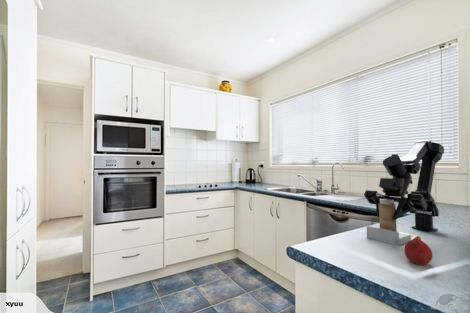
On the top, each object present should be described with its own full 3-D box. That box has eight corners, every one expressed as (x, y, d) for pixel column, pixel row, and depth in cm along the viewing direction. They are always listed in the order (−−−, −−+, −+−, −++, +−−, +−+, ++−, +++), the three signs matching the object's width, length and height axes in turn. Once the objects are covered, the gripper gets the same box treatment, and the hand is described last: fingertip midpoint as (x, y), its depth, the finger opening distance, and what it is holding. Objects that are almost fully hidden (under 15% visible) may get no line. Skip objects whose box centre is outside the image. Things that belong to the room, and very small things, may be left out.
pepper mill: (386, 230, 83) (384, 198, 84) (400, 234, 79) (398, 200, 79) (376, 232, 82) (375, 199, 82) (390, 236, 77) (388, 201, 77)
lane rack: (390, 232, 91) (390, 220, 91) (420, 239, 82) (420, 225, 82) (367, 239, 82) (366, 225, 82) (398, 248, 73) (397, 232, 74)
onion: (421, 272, 56) (420, 240, 57) (399, 263, 62) (398, 234, 62) (438, 269, 58) (437, 238, 58) (415, 260, 63) (414, 232, 64)
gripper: (365, 170, 91) (350, 199, 85) (421, 170, 75) (408, 207, 69) (376, 188, 95) (362, 218, 89) (432, 192, 79) (420, 229, 73)
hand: (385, 217), depth 80 cm, fingers closed on pepper mill, 5 cm apart
